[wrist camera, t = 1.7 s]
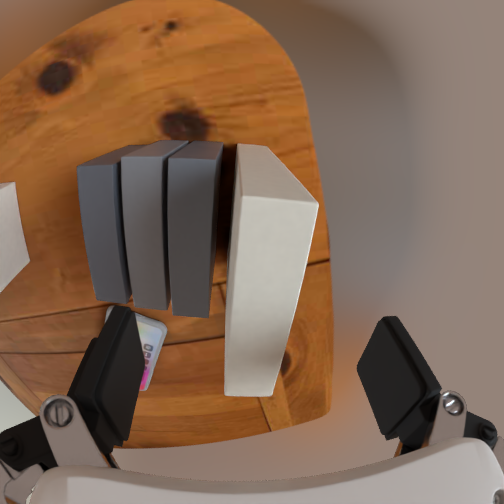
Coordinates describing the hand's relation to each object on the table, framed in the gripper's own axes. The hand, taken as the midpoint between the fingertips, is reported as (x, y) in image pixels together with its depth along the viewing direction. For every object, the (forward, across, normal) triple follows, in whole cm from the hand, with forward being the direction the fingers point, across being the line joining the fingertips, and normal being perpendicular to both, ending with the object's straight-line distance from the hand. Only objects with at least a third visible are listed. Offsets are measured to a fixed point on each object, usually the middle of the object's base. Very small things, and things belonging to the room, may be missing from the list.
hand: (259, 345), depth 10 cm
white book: (+16, 0, 0) cm, 16 cm away
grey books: (+16, +6, 0) cm, 17 cm away
